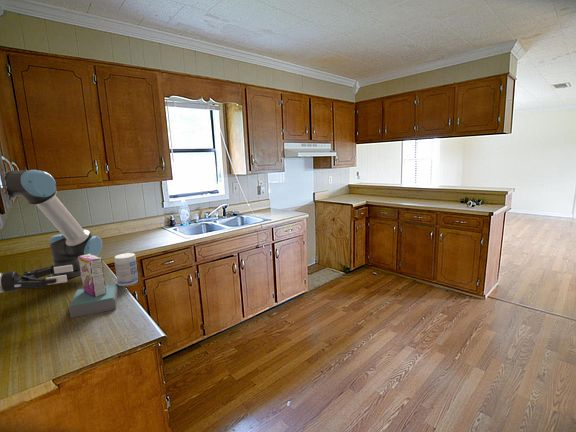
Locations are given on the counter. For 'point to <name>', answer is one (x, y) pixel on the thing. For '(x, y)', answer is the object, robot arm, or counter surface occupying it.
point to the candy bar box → (92, 275)
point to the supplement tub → (126, 269)
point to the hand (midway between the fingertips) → (69, 272)
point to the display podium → (93, 302)
